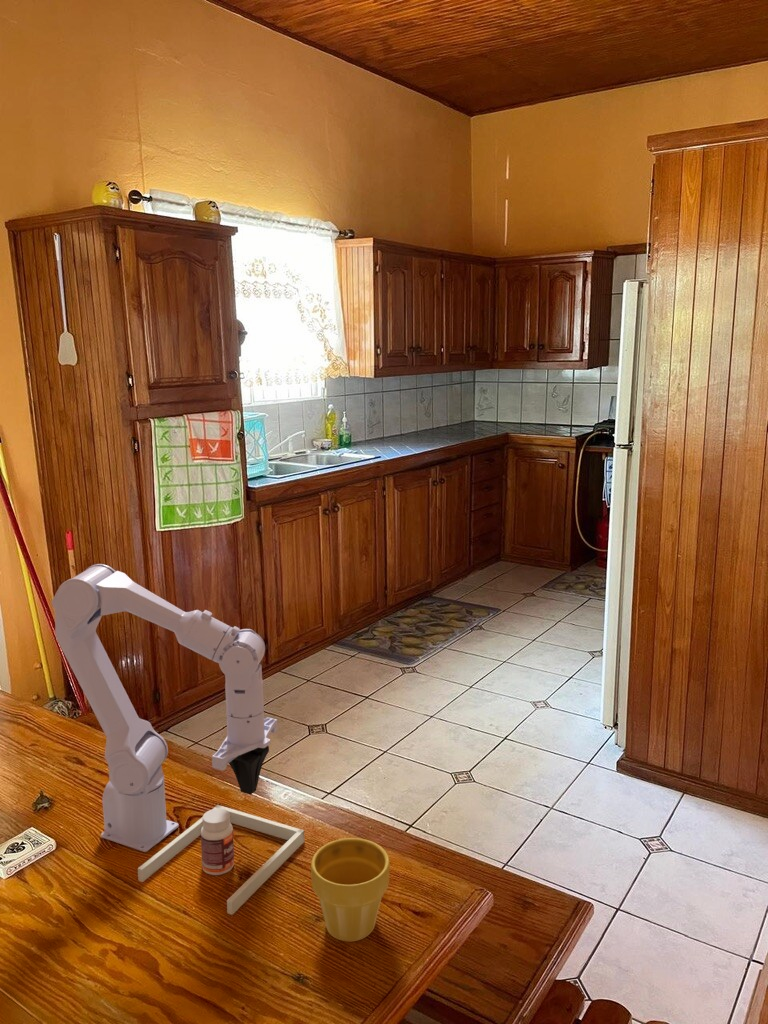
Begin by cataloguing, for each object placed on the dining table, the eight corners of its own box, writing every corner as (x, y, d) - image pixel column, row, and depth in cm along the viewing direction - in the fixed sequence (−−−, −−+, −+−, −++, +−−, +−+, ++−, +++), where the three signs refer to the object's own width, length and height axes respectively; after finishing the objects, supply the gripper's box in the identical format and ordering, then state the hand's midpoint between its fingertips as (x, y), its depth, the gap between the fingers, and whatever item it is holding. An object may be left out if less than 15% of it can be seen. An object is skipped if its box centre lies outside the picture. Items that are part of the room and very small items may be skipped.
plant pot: (380, 958, 101) (380, 890, 99) (302, 947, 103) (301, 879, 102) (395, 905, 111) (396, 841, 109) (324, 895, 113) (323, 832, 111)
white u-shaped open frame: (138, 880, 117) (137, 868, 116) (218, 815, 133) (217, 804, 133) (232, 915, 109) (231, 902, 109) (304, 841, 126) (304, 830, 125)
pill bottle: (231, 876, 118) (228, 824, 116) (198, 876, 118) (196, 824, 116) (237, 856, 122) (235, 806, 121) (206, 856, 122) (204, 806, 121)
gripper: (238, 735, 115) (241, 820, 117) (292, 697, 128) (294, 775, 130) (199, 725, 118) (203, 809, 120) (256, 689, 131) (258, 766, 133)
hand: (248, 791), depth 125 cm, fingers closed
